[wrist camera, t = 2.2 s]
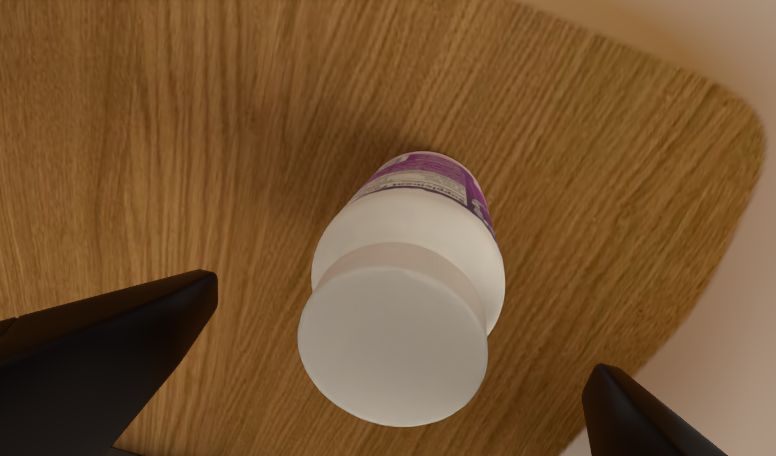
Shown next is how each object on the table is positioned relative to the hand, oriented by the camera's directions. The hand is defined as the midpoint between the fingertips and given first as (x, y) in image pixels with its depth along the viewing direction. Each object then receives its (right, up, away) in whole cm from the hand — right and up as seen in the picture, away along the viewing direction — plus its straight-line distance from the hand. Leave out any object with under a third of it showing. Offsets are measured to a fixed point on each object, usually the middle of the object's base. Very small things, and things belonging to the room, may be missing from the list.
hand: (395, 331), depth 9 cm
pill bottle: (+1, +3, +8) cm, 9 cm away
